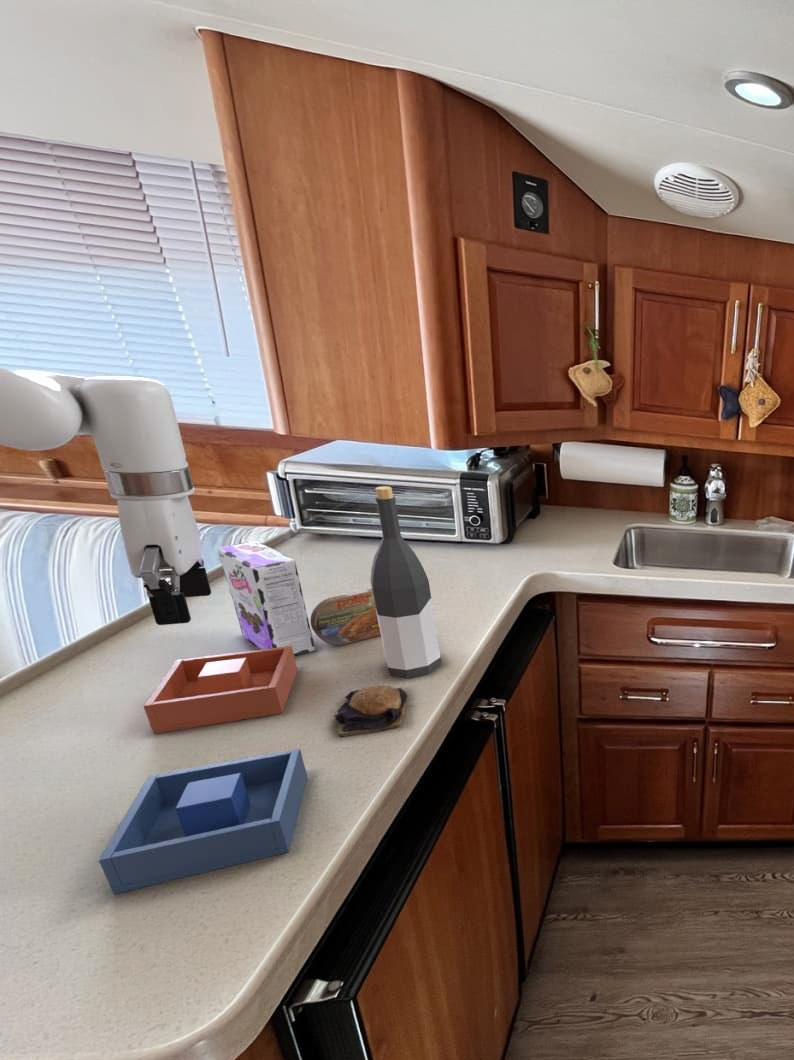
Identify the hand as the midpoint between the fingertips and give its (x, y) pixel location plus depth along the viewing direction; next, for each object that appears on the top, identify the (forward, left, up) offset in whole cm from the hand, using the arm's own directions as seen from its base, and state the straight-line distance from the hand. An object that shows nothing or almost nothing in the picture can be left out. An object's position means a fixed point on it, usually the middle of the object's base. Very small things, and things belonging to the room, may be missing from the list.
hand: (185, 608), depth 85 cm
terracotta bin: (+1, +2, -15) cm, 15 cm away
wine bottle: (+24, +4, -15) cm, 29 cm away
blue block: (+6, -29, -14) cm, 33 cm away
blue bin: (+6, -29, -15) cm, 34 cm away
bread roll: (+19, -9, -15) cm, 27 cm away
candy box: (+4, +20, -15) cm, 25 cm away
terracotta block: (+1, +2, -14) cm, 15 cm away
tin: (+17, +19, -15) cm, 29 cm away
